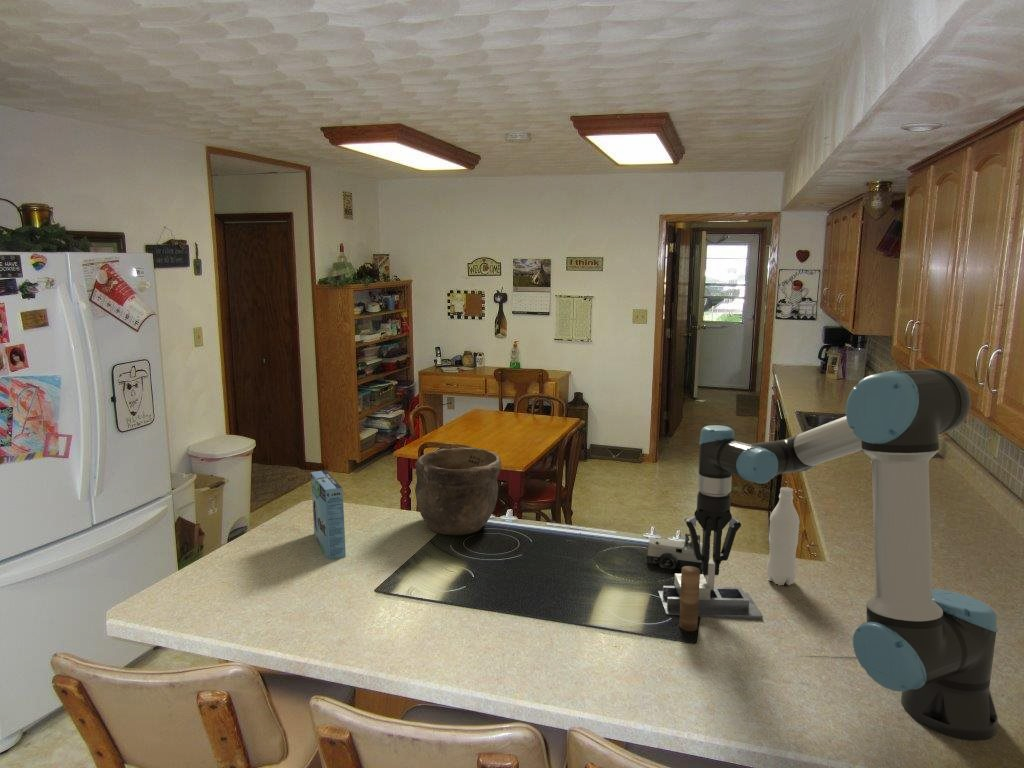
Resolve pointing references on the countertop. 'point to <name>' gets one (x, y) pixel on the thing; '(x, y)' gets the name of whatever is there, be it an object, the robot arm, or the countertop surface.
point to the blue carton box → (328, 514)
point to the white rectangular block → (703, 587)
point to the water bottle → (783, 539)
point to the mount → (715, 603)
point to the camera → (673, 553)
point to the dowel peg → (689, 598)
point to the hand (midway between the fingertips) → (709, 587)
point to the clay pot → (457, 489)
